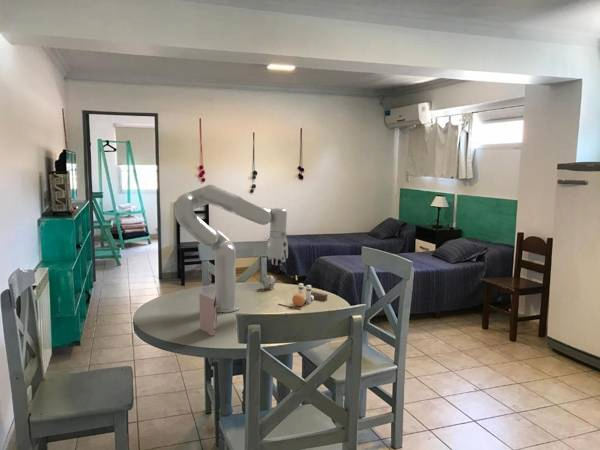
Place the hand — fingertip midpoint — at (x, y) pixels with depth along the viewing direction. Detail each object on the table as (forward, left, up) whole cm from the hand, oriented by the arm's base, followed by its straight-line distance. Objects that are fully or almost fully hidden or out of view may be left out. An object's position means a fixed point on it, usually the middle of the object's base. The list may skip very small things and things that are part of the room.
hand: (275, 272), depth 228 cm
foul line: (+5, -4, -17) cm, 18 cm away
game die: (+24, +28, -17) cm, 41 cm away
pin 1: (+17, -2, -17) cm, 24 cm away
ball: (+10, -6, -14) cm, 18 cm away
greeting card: (-44, -3, -17) cm, 47 cm away
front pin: (+14, -4, -16) cm, 21 cm away
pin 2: (+17, -7, -17) cm, 25 cm away
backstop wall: (+27, -4, -17) cm, 32 cm away
